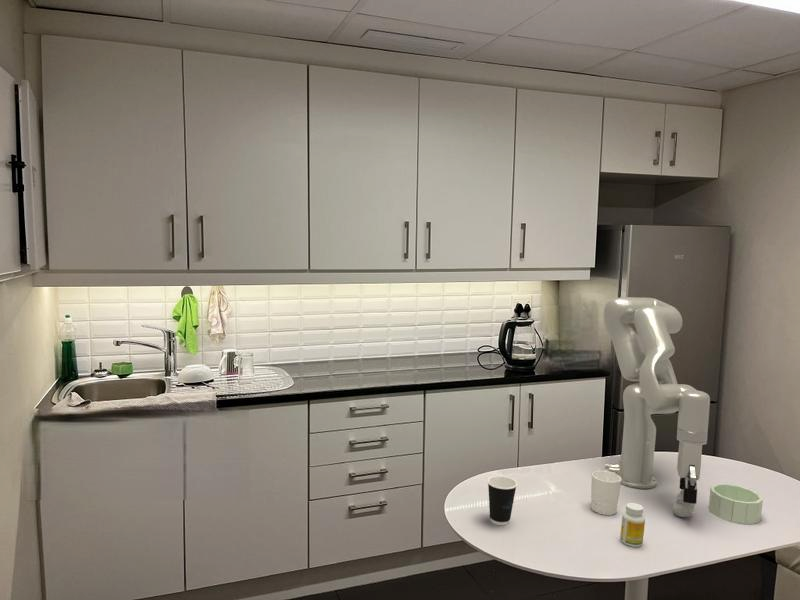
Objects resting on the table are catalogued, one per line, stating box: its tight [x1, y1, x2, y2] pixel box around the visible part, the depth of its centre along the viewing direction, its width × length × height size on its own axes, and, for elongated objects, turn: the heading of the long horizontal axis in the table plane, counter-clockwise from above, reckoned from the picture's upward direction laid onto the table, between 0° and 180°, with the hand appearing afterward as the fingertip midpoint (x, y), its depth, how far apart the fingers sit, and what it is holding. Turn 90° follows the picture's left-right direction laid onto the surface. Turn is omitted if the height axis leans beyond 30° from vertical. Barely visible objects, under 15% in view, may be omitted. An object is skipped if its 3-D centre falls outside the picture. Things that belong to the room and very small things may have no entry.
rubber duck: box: [671, 489, 696, 518], centre depth 167 cm, size 5×7×8 cm
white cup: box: [590, 470, 622, 516], centre depth 168 cm, size 8×8×10 cm
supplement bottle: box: [619, 502, 646, 548], centre depth 151 cm, size 5×5×10 cm
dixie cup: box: [486, 475, 518, 526], centre depth 159 cm, size 8×8×11 cm
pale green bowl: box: [708, 483, 764, 525], centre depth 170 cm, size 13×13×6 cm
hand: (687, 496), depth 166 cm, fingers open, 9 cm apart
